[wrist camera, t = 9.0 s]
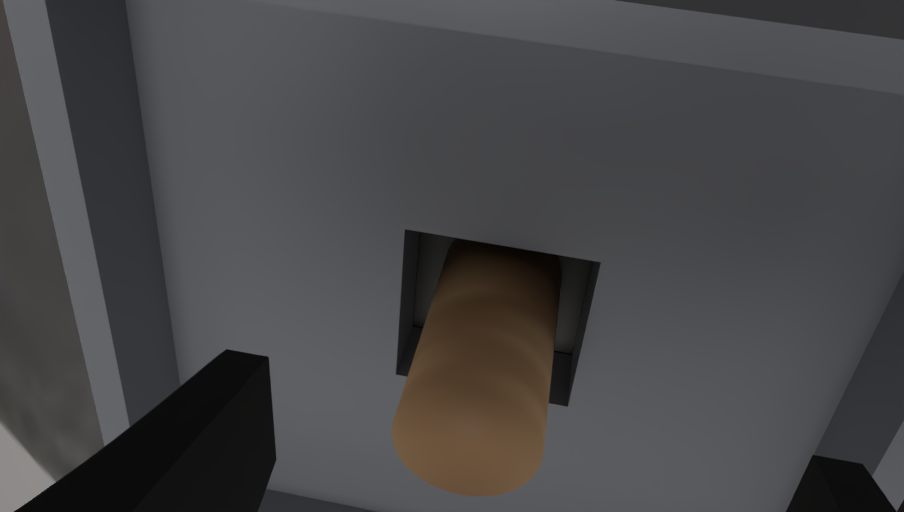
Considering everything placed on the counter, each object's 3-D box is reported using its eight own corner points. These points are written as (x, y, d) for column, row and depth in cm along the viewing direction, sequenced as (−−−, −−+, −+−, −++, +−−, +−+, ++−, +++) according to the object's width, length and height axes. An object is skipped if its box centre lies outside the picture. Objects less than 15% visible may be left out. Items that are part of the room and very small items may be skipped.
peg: (571, 233, 20) (555, 403, 15) (551, 327, 21) (531, 508, 16) (450, 212, 20) (395, 373, 15) (440, 307, 22) (387, 480, 17)
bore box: (1030, -12, 15) (1162, 75, 11) (758, 550, 25) (783, 696, 21) (124, -128, 17) (-17, -86, 13) (198, 438, 26) (129, 555, 23)
